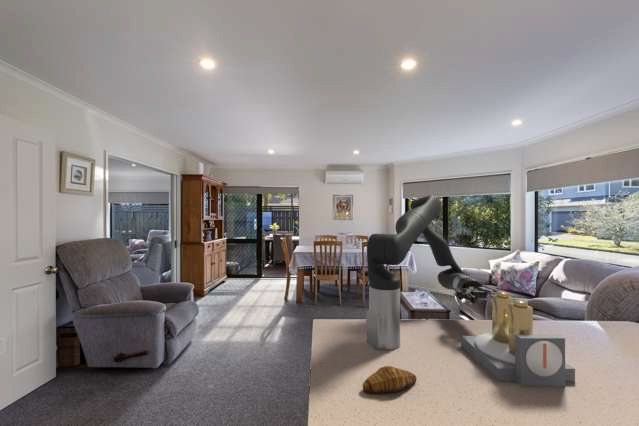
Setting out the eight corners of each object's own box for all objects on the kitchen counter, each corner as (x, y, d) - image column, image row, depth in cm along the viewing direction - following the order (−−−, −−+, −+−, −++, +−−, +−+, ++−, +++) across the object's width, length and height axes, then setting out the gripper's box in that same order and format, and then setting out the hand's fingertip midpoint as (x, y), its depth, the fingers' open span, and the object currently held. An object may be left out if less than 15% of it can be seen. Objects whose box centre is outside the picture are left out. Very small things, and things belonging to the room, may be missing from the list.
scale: (505, 387, 65) (505, 339, 65) (461, 345, 86) (461, 309, 86) (585, 388, 65) (585, 339, 65) (521, 346, 85) (521, 309, 85)
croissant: (370, 403, 60) (370, 380, 60) (356, 385, 66) (356, 363, 66) (424, 391, 64) (424, 369, 64) (406, 375, 71) (406, 355, 71)
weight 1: (505, 345, 77) (505, 296, 77) (488, 337, 82) (488, 291, 82) (517, 341, 79) (517, 294, 79) (499, 334, 84) (499, 289, 84)
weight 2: (525, 360, 69) (524, 305, 69) (504, 351, 74) (504, 300, 74) (537, 356, 71) (537, 303, 71) (516, 347, 76) (516, 297, 76)
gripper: (447, 276, 105) (464, 288, 89) (487, 277, 104) (513, 289, 88) (447, 297, 105) (464, 312, 89) (487, 298, 104) (513, 313, 88)
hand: (488, 300), depth 89 cm, fingers open, 8 cm apart
